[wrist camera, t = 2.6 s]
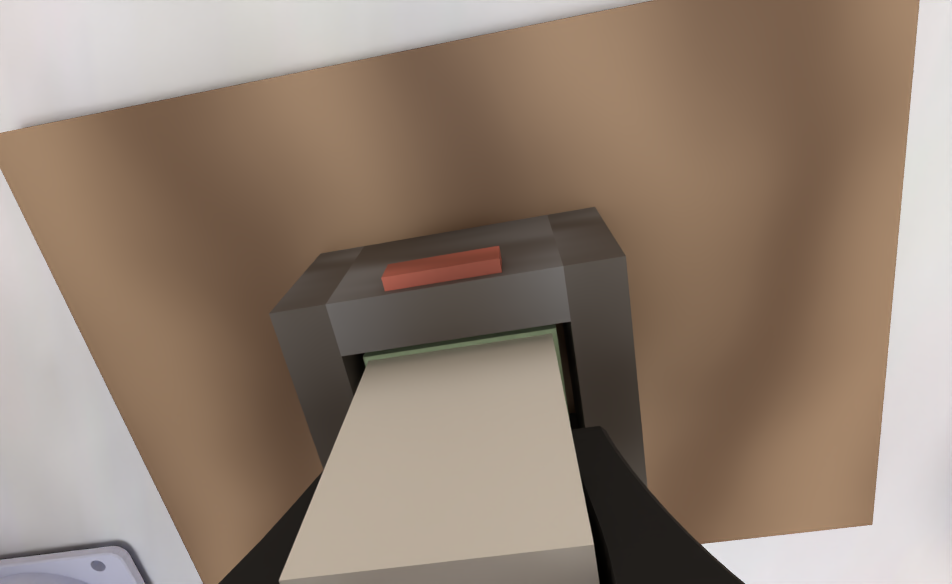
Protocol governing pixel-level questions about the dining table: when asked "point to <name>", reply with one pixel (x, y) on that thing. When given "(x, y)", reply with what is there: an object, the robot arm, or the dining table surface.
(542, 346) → the post
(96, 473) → the dining table surface
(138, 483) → the dining table surface
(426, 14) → the dining table surface
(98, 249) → the stand base
